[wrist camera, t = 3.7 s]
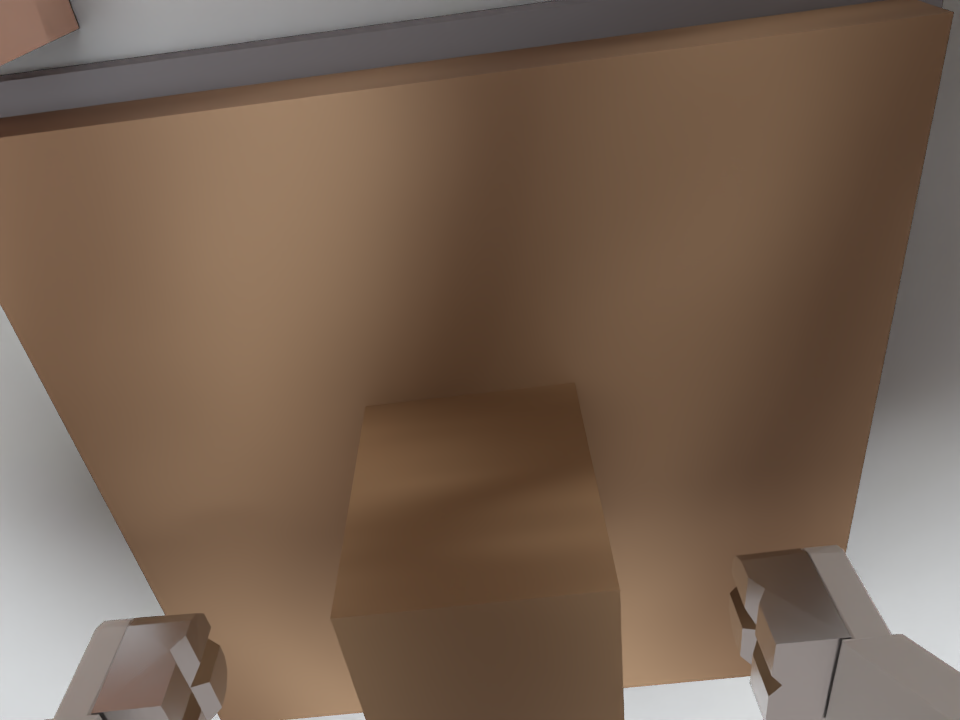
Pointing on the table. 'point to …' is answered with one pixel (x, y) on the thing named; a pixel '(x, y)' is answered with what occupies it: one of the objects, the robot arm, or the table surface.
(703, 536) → the lid
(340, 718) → the table surface
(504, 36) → the mat
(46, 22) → the pink shallow box
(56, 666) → the table surface
